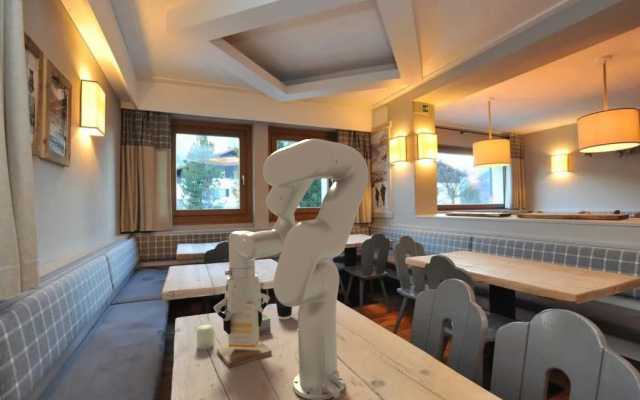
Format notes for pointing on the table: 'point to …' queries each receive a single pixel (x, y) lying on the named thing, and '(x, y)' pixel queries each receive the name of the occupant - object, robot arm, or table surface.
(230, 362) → the tan board
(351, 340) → the table surface
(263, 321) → the gray block
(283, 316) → the dixie cup
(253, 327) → the supplement box
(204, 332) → the sage capsule
